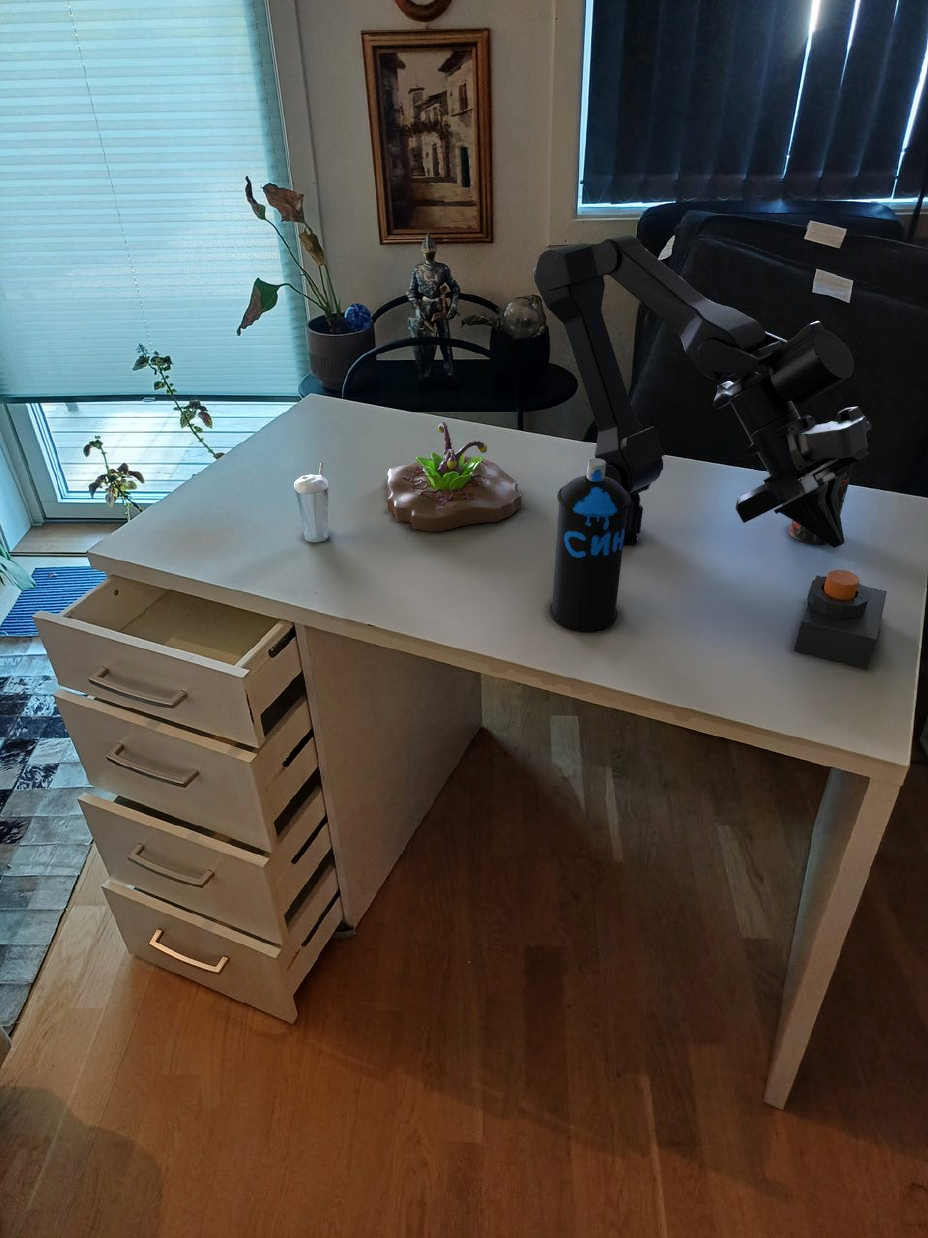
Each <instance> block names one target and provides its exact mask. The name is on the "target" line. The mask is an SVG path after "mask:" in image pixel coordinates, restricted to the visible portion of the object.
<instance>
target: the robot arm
mask: <svg viewBox="0 0 928 1238" xmlns="http://www.w3.org/2000/svg"><path fill="white" fill-rule="evenodd" d="M607 275H608V276H610V277H611V278H612V279H613V280H614V281H616V282H617V283H618V284H619V285H620V286H621V287H623V288H624V289H625V290H626V291H627V292H628V293H630V294H631V295H632V296H634V297H635V298H636V299H637V300H638V301H639V302H640V303H642V304H643V305H644V306H645V307H646V308H647V309H649V311H651V312H652V313H653V314H654V315H655V316H657V317H658V318H659V319H660V320H661V321H662V322H664V324H666V325H668V326H669V327H670V328H671V329H672V330H673V331H674V332H675V333H676V334H677V336H678V337H679V338H680V340H681V343H682V347H683V350H684V352H685V355H687V357H688V358H689V359H690V360H691V362H692V363H693V364H694V365H695V366H696V368H697V369H698V370H699V371H700V372H701V374H703V375H704V376H705V377H707V378H709V379H711V380H715V381H716V380H722V379H727V378H729V377H732V376H735V375H744V376H743V377H741V378H739V379H738V380H736V381H735V382H732V381H730V380H728V381H725V382H723V383H720V384H718V385H717V391H716V395H715V397H714V400H713V402H712V409H713V410H716V411H717V410H720V409H721V408H724V407H726V406H729V405H731V407H732V410H733V411H734V413H735V415H736V417H737V418H738V420H739V422H740V424H741V425H742V427H743V429H744V431H745V432H746V435H747V436H748V438H749V440H750V442H751V444H750V445H749V446H748V447H746V448H745V450H746V452H747V453H748V455H749V457H752V456H753V455H755V454H757V455H758V457H759V458H760V460H761V462H762V464H763V465H764V467H765V469H766V471H767V473H768V475H769V476H768V477H766V478H764V479H763V482H764V483H763V484H761V485H759V486H757V487H755V488H754V489H752V490H750V491H748V492H746V493H745V494H742V495H741V496H738V497H737V498H736V502H735V511H736V513H737V515H738V516H739V519H740V520H741V522H742V524H745V523H747V522H749V521H752V520H754V519H755V518H757V517H760V516H761V515H765V513H768V512H770V511H771V510H773V509H774V510H773V512H774V513H775V514H776V515H777V514H779V513H780V514H782V515H783V516H785V517H786V518H788V519H790V520H791V521H792V520H793V521H795V522H796V523H798V524H800V525H801V526H803V527H804V528H806V529H807V530H809V531H810V532H812V533H813V534H815V535H816V536H817V537H819V538H820V539H822V540H823V541H825V542H826V543H827V544H826V545H829V546H830V547H832V548H834V549H836V548H839V547H841V546H842V545H844V544H845V535H844V531H843V525H842V518H841V514H840V513H839V505H838V495H837V494H838V490H839V487H840V485H841V482H842V480H843V478H845V477H846V472H844V473H842V474H840V475H838V476H835V475H834V473H833V472H835V471H837V470H839V469H841V468H843V467H845V466H847V465H849V464H851V463H853V462H854V464H855V463H856V462H858V461H860V460H862V459H864V458H866V457H867V456H869V455H870V452H869V451H868V448H869V445H868V440H867V433H868V432H869V431H871V430H872V428H873V424H872V423H871V422H869V421H868V419H867V416H866V415H864V412H863V411H862V410H861V409H860V407H859V406H852V407H846V408H844V409H842V410H839V411H838V412H837V415H836V417H835V420H831V421H829V422H826V423H821V424H817V422H816V421H815V419H814V417H813V416H811V415H809V413H808V414H805V415H803V416H800V414H799V411H798V410H797V408H796V406H795V405H794V403H795V404H798V405H805V404H807V403H808V402H810V401H812V400H814V399H815V398H817V397H818V396H820V395H822V394H823V393H825V392H826V391H829V390H830V389H832V388H833V387H835V386H836V385H839V384H840V383H842V382H843V381H845V380H846V379H848V378H850V377H851V376H852V375H853V373H854V366H855V364H854V358H853V355H852V352H851V350H850V348H849V346H848V345H847V343H846V342H844V341H842V340H841V339H840V337H838V335H836V334H835V333H833V332H832V331H829V330H827V329H825V328H824V326H823V324H822V322H821V321H819V320H817V321H815V322H812V323H809V324H807V325H805V326H804V327H803V328H802V329H800V330H799V331H798V332H797V333H796V334H795V335H794V336H793V337H792V338H790V339H789V340H786V339H783V338H781V337H779V336H777V335H774V334H772V333H769V332H767V331H766V330H765V328H764V327H763V326H762V325H761V323H760V322H758V321H757V319H754V318H752V317H751V316H748V315H746V314H745V313H743V312H741V311H739V310H737V309H736V308H733V307H730V306H726V305H723V304H719V303H716V302H714V301H711V300H710V299H708V298H706V297H705V296H704V295H703V294H701V293H700V291H697V289H695V288H694V287H693V286H692V285H691V284H689V283H688V282H687V281H686V280H685V279H683V278H682V277H681V276H680V275H678V274H677V273H676V272H675V271H673V270H672V269H671V268H670V267H668V266H667V265H666V264H665V263H663V262H662V261H661V260H660V259H659V258H657V256H655V255H654V254H653V253H652V252H650V251H649V250H648V249H647V248H645V247H644V246H643V244H642V242H641V240H639V238H638V237H636V236H634V235H631V234H623V235H622V234H621V235H619V236H614V237H610V238H606V239H603V240H602V241H601V242H599V243H597V244H593V245H590V244H587V243H584V242H579V243H574V244H569V245H565V246H561V247H556V248H552V249H548V250H544V251H542V253H541V254H539V257H538V258H537V260H536V263H535V267H534V268H533V279H534V284H535V286H536V288H537V291H538V292H539V295H540V296H541V299H542V302H543V303H544V305H545V307H546V308H547V309H548V310H549V312H551V313H552V314H553V316H554V317H556V318H557V319H558V320H559V321H560V322H561V323H562V324H563V326H564V329H565V332H566V335H567V338H568V342H569V344H570V348H571V351H572V353H573V357H574V360H575V363H576V366H577V370H578V372H579V376H580V378H581V381H582V384H583V387H584V390H585V394H586V397H587V400H588V403H589V406H590V410H591V413H592V415H593V418H594V421H595V425H596V428H597V439H596V445H595V451H594V458H598V459H602V460H604V461H605V462H606V468H605V477H608V478H610V479H613V480H615V481H616V482H618V483H619V484H620V485H621V486H622V487H623V488H624V490H626V491H627V492H628V494H629V495H630V498H631V503H630V505H629V506H628V508H627V516H626V525H625V534H624V542H623V545H637V544H639V537H638V535H640V534H641V529H642V521H643V512H644V506H643V504H642V500H641V497H640V493H641V492H642V493H643V492H644V491H645V492H646V491H647V490H649V489H650V487H651V485H652V483H655V482H656V481H657V480H658V479H659V478H660V476H661V474H662V471H663V470H664V460H663V457H665V456H666V453H665V451H664V450H663V449H662V446H661V444H660V440H659V434H658V431H657V429H656V427H655V426H650V427H648V428H645V427H644V425H643V424H641V423H640V422H639V421H638V420H637V418H636V416H635V414H634V411H633V407H632V404H631V400H630V398H629V395H628V391H627V388H626V385H625V382H624V379H623V376H622V372H621V370H620V366H619V363H618V360H617V357H616V354H615V351H614V347H613V344H612V342H611V341H612V340H611V338H610V334H609V331H608V328H607V325H606V321H605V318H604V316H603V311H602V308H603V307H602V306H603V301H604V295H605V288H606V282H605V277H604V276H607ZM764 367H766V369H767V370H766V371H764V372H763V373H761V372H756V371H757V370H759V369H761V368H764Z"/></svg>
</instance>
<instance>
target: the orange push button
mask: <svg viewBox="0 0 928 1238" xmlns="http://www.w3.org/2000/svg"><path fill="white" fill-rule="evenodd" d="M826 576H827V579H826V582H825V586H824V593H825V594H826V595H828V596H830V597H832V598H835V599H840V600H852V599H853V598H854V597H855V594H856V590H857V587H858V584H860V578H859V577H858V576H857V575H856V574H855V573H853V572H851V571H848V570H845V569H833V570H830V571H829V572H827V575H826Z"/></svg>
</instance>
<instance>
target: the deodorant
mask: <svg viewBox="0 0 928 1238" xmlns="http://www.w3.org/2000/svg"><path fill="white" fill-rule="evenodd" d="M854 466H855V463H854V462H853V463H851V464H849V465H847V466H845V467H843V468H841V469H839V470H837V471H835V472H833V473H834V475H835V476H838V475H840V474H842V473H844V472H846V477H845V478H843V480H842V482H841V485H840V487H839V490H838V494H837V495H838V505H839V513H840V515H841V514H842V510H843V506H844V502H845V499H846V495H847V491H848V487H849V484H850V480H851V476H852V472H853V469H854ZM790 523H791V524H790V527H789V534H790V536H791V537H792V538H793V539H795V540H796V541H798V542H801V543H803V544H807V545H812V546H824V545H828V544H827V543H826V542H825V541H823V540H822V539H820V538H819V537H817V536H816V535H815V534H813V533H812V532H810V531H809V530H807V529H806V528H804V527H803V526H801V525H800V524H798V523H796V522H795V521H793V520H791V522H790Z"/></svg>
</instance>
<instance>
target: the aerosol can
mask: <svg viewBox="0 0 928 1238" xmlns="http://www.w3.org/2000/svg"><path fill="white" fill-rule="evenodd" d="M605 468H606V462H605V461H604V460H602V459H598V458H595V457H593V458H591V459H589V460H587V469H586V474H585V475H581V476H577V477H574V478H572V479H571V480H570V481H569V482H568V483H566V484H565V485H564V486H562V487H560V488H559V490H558V491H557V494H556V499H557V501H558V509H557V525H556V541H555V554H554V569H553V572H554V573H553V584H552V585H553V586H552V597H551V604H550V606H549V615H550V617H551V619H552V620H553V621H554V622H555V623H556V624H558V625H559V626H561V627H563V628H565V629H567V630H571V631H574V632H580V633H591V632H592V633H593V632H598V631H602V630H605V629H607V628H609V627H611V626H612V625H613V624H614V623H615V622H616V620H617V618H618V609H617V602H618V593H619V585H620V576H621V568H622V561H623V558H622V557H623V551H624V544H623V542H624V534H625V525H626V516H627V508H628V506H629V505H630V503H631V498H630V495H629V494H628V492H627V491H626V490H624V488H623V487H622V486H621V485H620V484H619V483H618V482H616V481H615V480H613V479H610V478H608V477H605Z"/></svg>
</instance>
